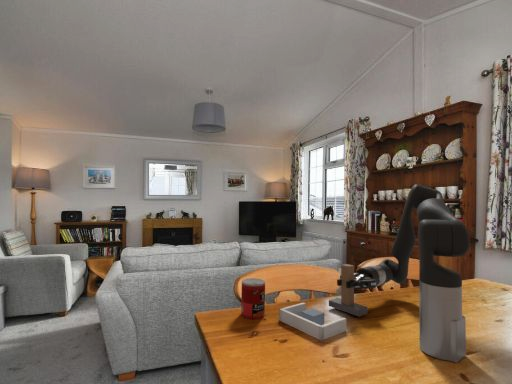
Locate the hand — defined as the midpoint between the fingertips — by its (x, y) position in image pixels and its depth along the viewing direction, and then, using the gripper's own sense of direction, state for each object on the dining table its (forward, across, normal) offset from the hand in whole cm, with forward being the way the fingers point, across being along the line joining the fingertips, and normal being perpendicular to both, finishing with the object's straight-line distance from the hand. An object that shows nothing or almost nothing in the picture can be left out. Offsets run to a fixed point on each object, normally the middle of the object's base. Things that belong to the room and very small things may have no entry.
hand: (342, 283), depth 99 cm
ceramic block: (+15, 0, +10) cm, 18 cm away
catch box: (+15, 0, +10) cm, 18 cm away
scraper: (-3, 0, +9) cm, 10 cm away
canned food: (+25, -17, +10) cm, 32 cm away
